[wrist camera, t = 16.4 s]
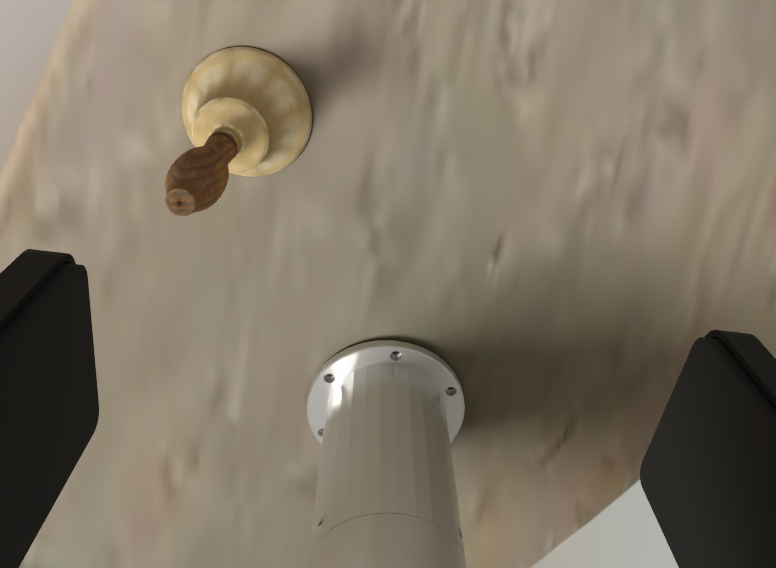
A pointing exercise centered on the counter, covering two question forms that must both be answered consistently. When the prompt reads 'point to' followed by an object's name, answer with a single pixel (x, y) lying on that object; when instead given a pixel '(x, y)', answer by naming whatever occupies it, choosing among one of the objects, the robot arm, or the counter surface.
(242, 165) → the hand bell
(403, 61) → the counter surface
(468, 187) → the counter surface
